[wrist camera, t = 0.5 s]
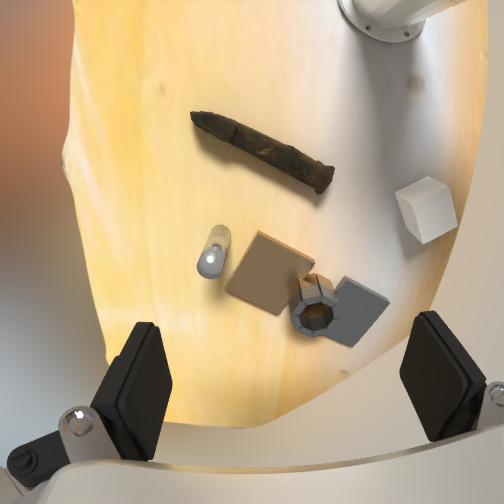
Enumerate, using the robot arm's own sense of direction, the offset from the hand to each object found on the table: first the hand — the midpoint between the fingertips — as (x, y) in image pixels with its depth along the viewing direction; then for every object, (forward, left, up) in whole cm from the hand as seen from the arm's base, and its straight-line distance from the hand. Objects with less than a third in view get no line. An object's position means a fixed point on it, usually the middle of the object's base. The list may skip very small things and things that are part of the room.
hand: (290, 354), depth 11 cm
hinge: (+12, +14, -32) cm, 37 cm away
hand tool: (-2, -3, -33) cm, 33 cm away
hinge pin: (+10, -2, -32) cm, 34 cm away
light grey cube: (-8, +20, -33) cm, 39 cm away
